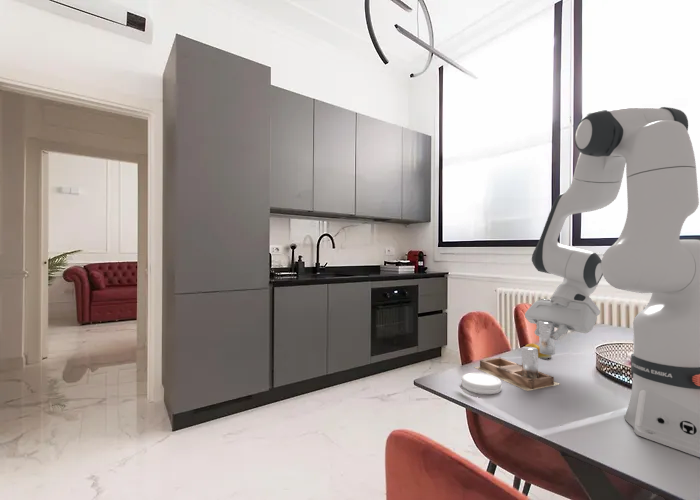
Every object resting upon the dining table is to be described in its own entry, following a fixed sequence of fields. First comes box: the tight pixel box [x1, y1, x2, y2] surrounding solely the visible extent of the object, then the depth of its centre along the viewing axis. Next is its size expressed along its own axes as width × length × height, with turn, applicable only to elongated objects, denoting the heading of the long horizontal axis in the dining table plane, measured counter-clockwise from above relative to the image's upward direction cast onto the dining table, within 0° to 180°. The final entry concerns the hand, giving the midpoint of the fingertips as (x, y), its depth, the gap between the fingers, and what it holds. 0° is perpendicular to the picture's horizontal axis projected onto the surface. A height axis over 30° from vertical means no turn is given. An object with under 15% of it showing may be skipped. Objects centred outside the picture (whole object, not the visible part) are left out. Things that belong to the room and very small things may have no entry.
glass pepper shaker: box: [538, 322, 556, 356], centre depth 105 cm, size 4×4×9 cm
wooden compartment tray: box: [473, 356, 561, 392], centre depth 102 cm, size 20×12×3 cm, turn 21°
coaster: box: [461, 372, 503, 399], centre depth 93 cm, size 10×10×4 cm
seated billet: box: [521, 346, 539, 379], centre depth 97 cm, size 4×4×9 cm
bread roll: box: [524, 343, 553, 360], centre depth 124 cm, size 8×9×4 cm
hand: (545, 336), depth 105 cm, fingers closed on glass pepper shaker, 4 cm apart
